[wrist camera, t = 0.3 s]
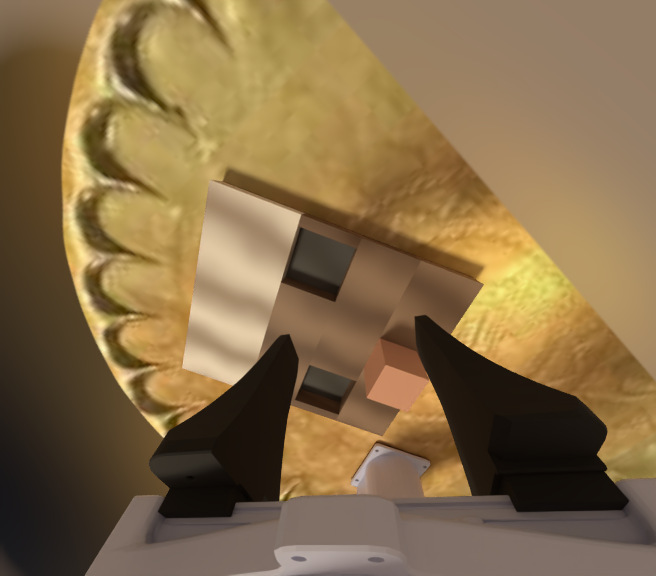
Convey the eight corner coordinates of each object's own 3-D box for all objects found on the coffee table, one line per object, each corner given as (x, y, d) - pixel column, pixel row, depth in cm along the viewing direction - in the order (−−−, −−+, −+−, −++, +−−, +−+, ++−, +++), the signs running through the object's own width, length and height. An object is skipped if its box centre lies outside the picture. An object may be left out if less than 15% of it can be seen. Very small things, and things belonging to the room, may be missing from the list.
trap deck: (380, 421, 30) (382, 436, 28) (193, 357, 28) (182, 368, 27) (472, 277, 22) (483, 284, 20) (221, 181, 21) (209, 179, 19)
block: (398, 380, 25) (407, 412, 21) (363, 367, 24) (366, 397, 21) (416, 351, 23) (429, 380, 19) (379, 338, 23) (385, 364, 19)
